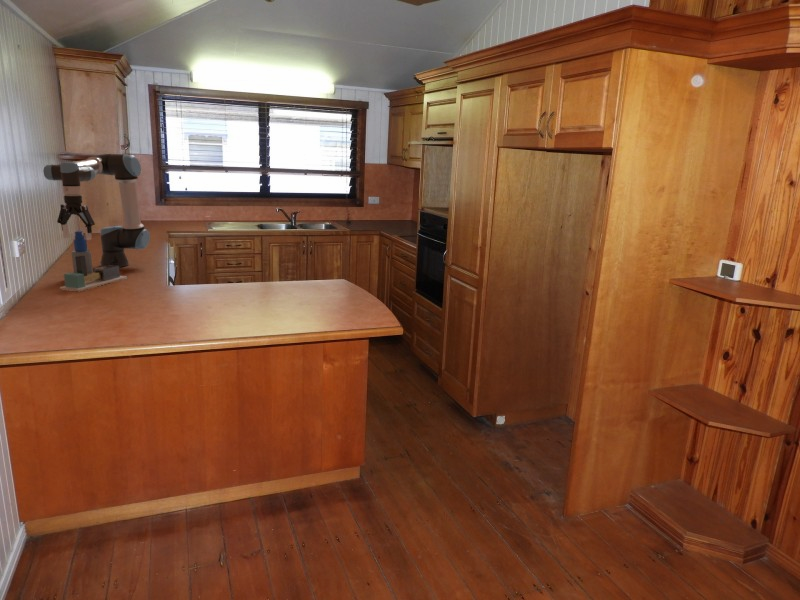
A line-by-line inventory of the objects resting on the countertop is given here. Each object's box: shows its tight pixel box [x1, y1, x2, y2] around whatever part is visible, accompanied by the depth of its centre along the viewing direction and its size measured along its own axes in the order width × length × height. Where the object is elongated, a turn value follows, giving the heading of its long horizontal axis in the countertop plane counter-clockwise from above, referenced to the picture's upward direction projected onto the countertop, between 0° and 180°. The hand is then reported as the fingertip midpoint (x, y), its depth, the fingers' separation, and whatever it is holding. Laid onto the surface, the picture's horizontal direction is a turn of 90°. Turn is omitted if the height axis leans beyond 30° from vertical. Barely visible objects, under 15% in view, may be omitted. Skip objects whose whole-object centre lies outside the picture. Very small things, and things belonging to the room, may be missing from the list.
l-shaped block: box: [75, 256, 102, 282], centre depth 284 cm, size 18×3×13 cm, turn 164°
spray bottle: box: [71, 230, 94, 274], centre depth 300 cm, size 9×9×25 cm
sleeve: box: [93, 265, 121, 281], centre depth 297 cm, size 11×6×6 cm, turn 164°
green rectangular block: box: [63, 272, 85, 288], centre depth 278 cm, size 4×8×6 cm, turn 74°
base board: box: [59, 275, 128, 293], centre depth 290 cm, size 32×12×1 cm, turn 164°
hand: (77, 238), depth 277 cm, fingers open, 13 cm apart
